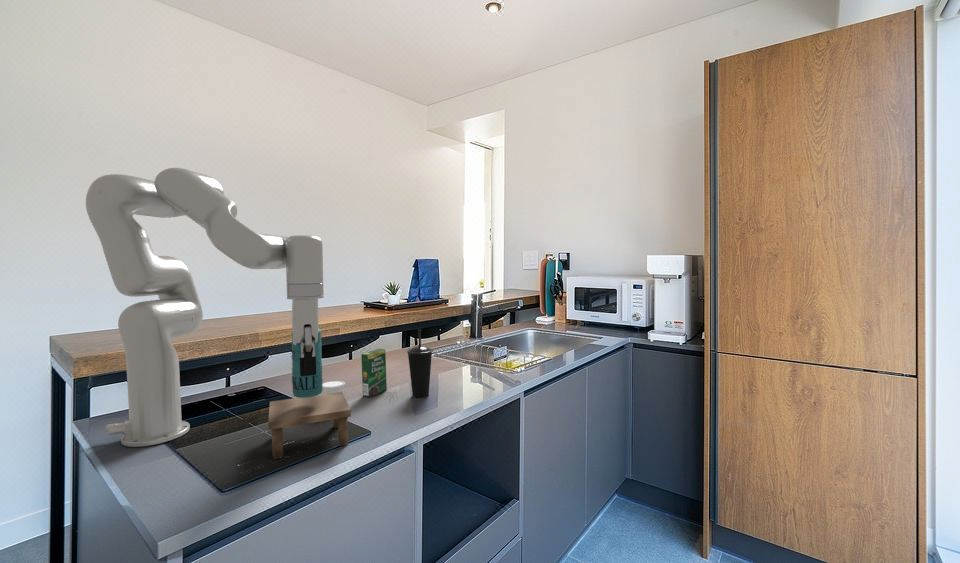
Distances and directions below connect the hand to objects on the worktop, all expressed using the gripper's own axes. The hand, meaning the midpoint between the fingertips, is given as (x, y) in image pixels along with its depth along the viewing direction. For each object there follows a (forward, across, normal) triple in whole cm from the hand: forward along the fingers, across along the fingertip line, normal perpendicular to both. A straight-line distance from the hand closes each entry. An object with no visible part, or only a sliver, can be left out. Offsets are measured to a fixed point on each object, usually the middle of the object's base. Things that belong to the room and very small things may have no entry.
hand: (307, 370), depth 93 cm
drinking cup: (+16, -19, +32) cm, 41 cm away
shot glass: (+16, -19, +7) cm, 26 cm away
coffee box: (+16, -27, +20) cm, 37 cm away
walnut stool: (+16, 0, 0) cm, 16 cm away
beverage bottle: (+7, 0, 0) cm, 7 cm away
